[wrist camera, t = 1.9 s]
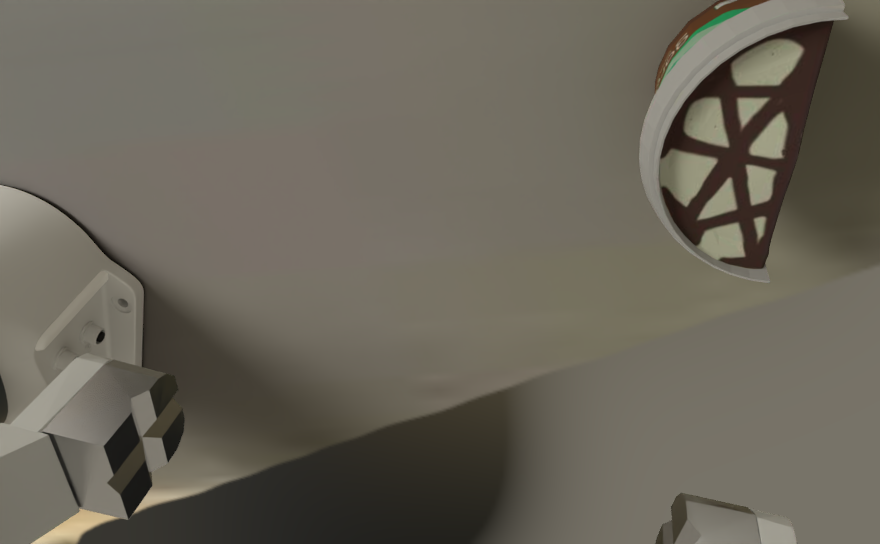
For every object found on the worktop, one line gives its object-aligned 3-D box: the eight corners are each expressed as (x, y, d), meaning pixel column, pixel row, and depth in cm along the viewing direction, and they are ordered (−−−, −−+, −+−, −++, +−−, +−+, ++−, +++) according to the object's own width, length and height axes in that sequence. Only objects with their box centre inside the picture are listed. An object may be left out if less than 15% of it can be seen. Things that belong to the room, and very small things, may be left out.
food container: (648, -47, 32) (666, -1, 24) (786, -48, 31) (853, 0, 23) (619, 184, 39) (624, 281, 31) (730, 190, 38) (767, 293, 30)
